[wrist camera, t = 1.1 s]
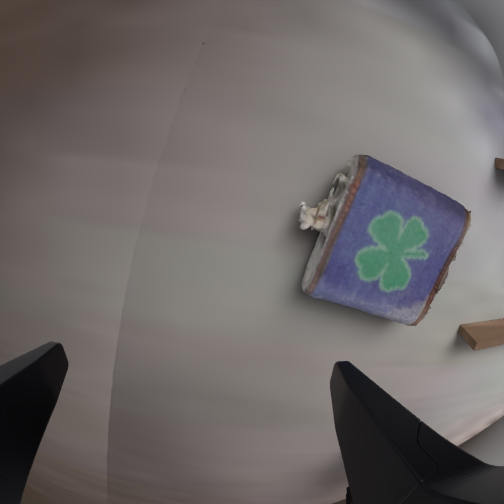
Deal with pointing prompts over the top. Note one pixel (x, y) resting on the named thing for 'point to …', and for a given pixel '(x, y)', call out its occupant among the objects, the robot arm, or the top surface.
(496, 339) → the frame
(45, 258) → the top surface
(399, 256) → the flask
